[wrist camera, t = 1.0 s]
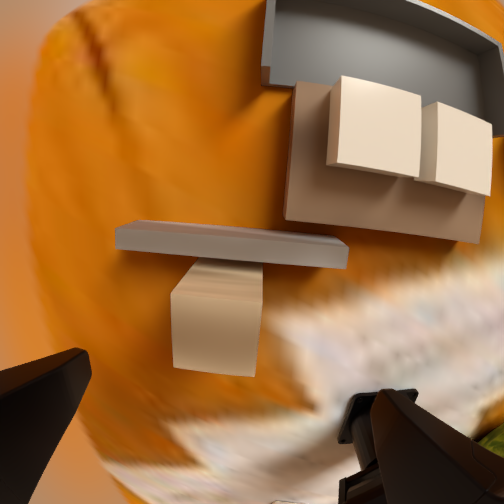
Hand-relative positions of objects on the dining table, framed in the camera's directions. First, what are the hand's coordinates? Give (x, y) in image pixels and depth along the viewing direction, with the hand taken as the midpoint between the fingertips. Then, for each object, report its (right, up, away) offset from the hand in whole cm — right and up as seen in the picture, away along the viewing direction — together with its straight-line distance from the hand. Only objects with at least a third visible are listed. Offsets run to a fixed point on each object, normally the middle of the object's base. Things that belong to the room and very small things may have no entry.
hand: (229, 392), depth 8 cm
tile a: (+13, +10, +7) cm, 18 cm away
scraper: (-1, +2, +12) cm, 12 cm away
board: (+10, +10, +10) cm, 17 cm away
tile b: (+7, +11, +7) cm, 15 cm away
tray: (+11, +18, +8) cm, 22 cm away
